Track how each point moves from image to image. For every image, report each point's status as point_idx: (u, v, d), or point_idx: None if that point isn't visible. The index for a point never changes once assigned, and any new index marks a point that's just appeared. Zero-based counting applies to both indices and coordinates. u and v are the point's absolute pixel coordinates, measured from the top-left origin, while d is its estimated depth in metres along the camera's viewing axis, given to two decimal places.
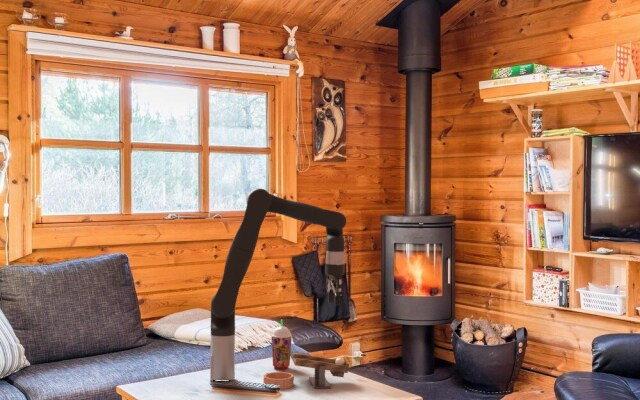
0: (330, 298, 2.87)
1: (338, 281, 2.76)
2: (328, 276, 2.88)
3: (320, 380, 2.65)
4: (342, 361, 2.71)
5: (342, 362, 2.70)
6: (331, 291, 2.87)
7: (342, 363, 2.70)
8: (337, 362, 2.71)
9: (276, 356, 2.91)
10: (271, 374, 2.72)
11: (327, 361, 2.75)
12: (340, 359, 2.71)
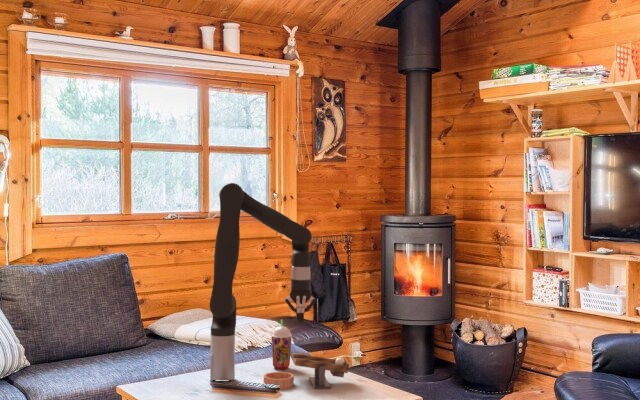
0: None
1: None
2: (286, 298, 2.79)
3: (320, 380, 2.65)
4: (342, 361, 2.71)
5: (342, 362, 2.70)
6: None
7: (342, 363, 2.70)
8: (337, 362, 2.71)
9: (276, 356, 2.91)
10: (271, 374, 2.72)
11: (327, 361, 2.75)
12: (340, 359, 2.71)
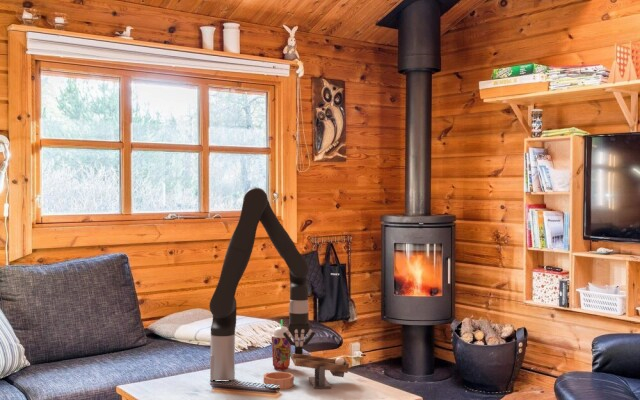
0: None
1: None
2: (285, 332, 2.76)
3: (320, 380, 2.65)
4: (342, 361, 2.71)
5: (342, 362, 2.70)
6: None
7: (342, 363, 2.70)
8: (337, 362, 2.71)
9: (276, 356, 2.91)
10: (271, 374, 2.72)
11: (327, 361, 2.75)
12: (340, 359, 2.71)
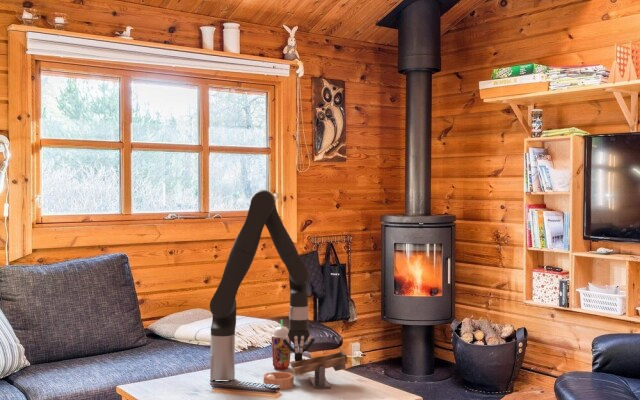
0: None
1: None
2: (284, 338, 2.76)
3: (320, 380, 2.65)
4: None
5: None
6: (297, 351, 2.78)
7: None
8: None
9: (276, 356, 2.91)
10: None
11: (326, 358, 2.75)
12: None
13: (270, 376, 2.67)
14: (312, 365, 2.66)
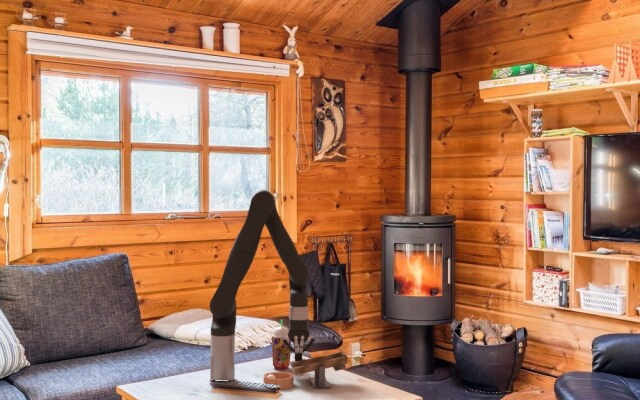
0: None
1: None
2: (284, 338, 2.76)
3: (320, 380, 2.65)
4: None
5: None
6: (297, 351, 2.78)
7: None
8: None
9: (276, 356, 2.91)
10: None
11: (326, 358, 2.75)
12: None
13: (271, 376, 2.67)
14: (312, 365, 2.66)
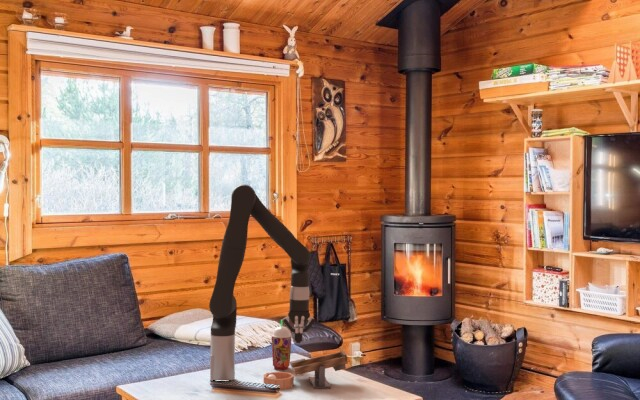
0: None
1: None
2: (285, 318, 2.76)
3: (320, 380, 2.65)
4: None
5: None
6: (297, 331, 2.78)
7: None
8: None
9: (276, 356, 2.91)
10: None
11: (326, 358, 2.75)
12: None
13: (272, 376, 2.67)
14: (312, 365, 2.66)
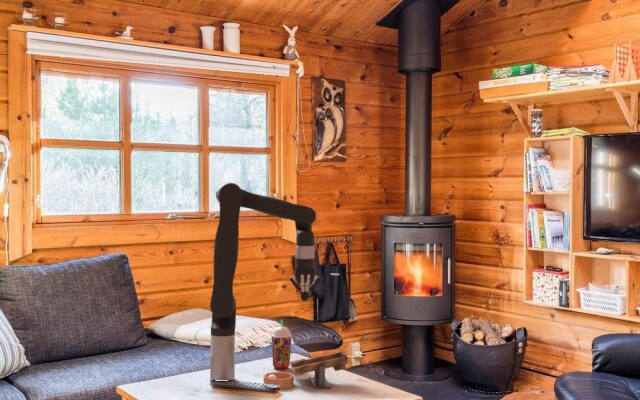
0: None
1: (319, 280, 2.85)
2: (291, 277, 2.83)
3: (320, 380, 2.65)
4: None
5: None
6: None
7: None
8: None
9: (276, 356, 2.91)
10: None
11: (326, 358, 2.75)
12: None
13: (273, 376, 2.67)
14: (312, 365, 2.66)
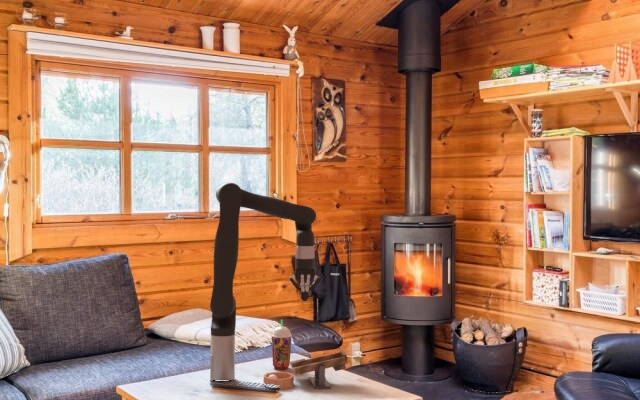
0: None
1: (319, 280, 2.85)
2: (291, 277, 2.83)
3: (320, 380, 2.65)
4: None
5: None
6: (303, 290, 2.85)
7: None
8: None
9: (276, 356, 2.91)
10: (271, 374, 2.72)
11: (326, 358, 2.75)
12: None
13: (274, 376, 2.67)
14: (312, 365, 2.66)
